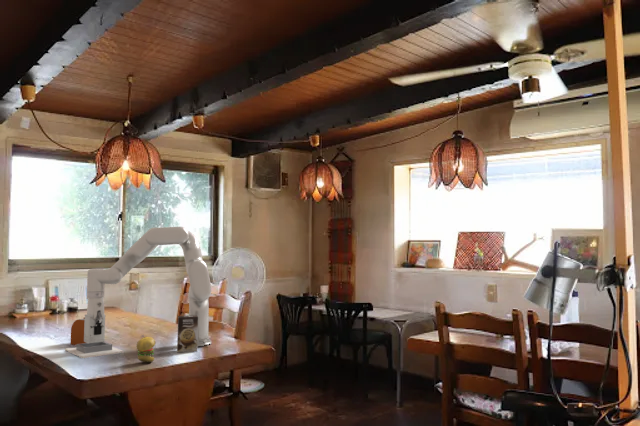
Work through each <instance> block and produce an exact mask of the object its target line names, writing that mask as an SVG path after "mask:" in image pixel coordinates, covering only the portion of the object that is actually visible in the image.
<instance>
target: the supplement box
mask: <svg viewBox="0 0 640 426" xmlns="http://www.w3.org/2000/svg"><path fill="white" fill-rule="evenodd" d="M84 317H85V322H84V342H86V343H88V344H89V343H97V342H105V335H106V334H105V332H106V314H104V319H102V333H101V334H100V335H94V326H95V320H93V316H92V315H89V314H87V313H86V314H84ZM96 319H99V317H98V315H97V317H96Z"/></svg>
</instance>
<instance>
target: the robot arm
mask: <svg viewBox="0 0 640 426" xmlns="http://www.w3.org/2000/svg"><path fill="white" fill-rule="evenodd" d="M171 245H179V246H180V247H181V250H182V253H183V256H184V258H183V259H184V262H185V271H186V274H187V275H188V280H189V287H188V303H189V304H188V305H189V306H188V310H189V311H188V316H193V315H197V316H198V342H197V347H205V346H204V345H207V346H210V345H211V344H212V340H211V338H210V337H209V315H210V314H209V313H210V311H209V310H210V309H209V307H210V305H209V299H210V297H211V294H212V284H211V279H210V273H209V268H208V266H207V263H206V262H205V261H204V260H203V253H202V250H201V245H200V243H199V240H198V238H197V237H196V236H195V235H194V234H193V232H191V231H189V230H188V229H187V228H185V227H183V226H167V227H165V226H164V227H152V228H150V229H148V230H147V231H146V232H145V233H144V234H142V236H140V237H139V238H138V240H137V241H136V242H134V243H133V244H132V245H131V246H130V247H129V248H128V249H127V250H126V252H125V253H124V254H123V255H122V256H121V257H120V258H119V259H118V260H117V261H116V262H115V263H114V264H113V265H112V266H111V267H110V268H107V269H105V268H90V269H88V270H87V275H86V276H87V277H86V279H87V280H86V282H87V284H86V299H87V306H86V307H87V309H86V314H89V315H92V316H93V320H95V326H94V335H100V334H101V333H102V319H104V315H105V301H104V299H105V287H106V286H105V284H107V285H117V284H118V283H120V282H121V281H122V279H123V278H124V277H125V276H127V274H128V273H129V272H130V271H131V270H132V269H133V268H134V267H136V266H137V265H139V264H140V263H141V262H142V261H144V260H145V259H146V258H147V257H148V256H149V255H150V254H151V253H152V252H153V251H154V250H155V249H157V247H158V246H171ZM97 315H98V317H99V319H96V317H97ZM209 344H210V345H209Z"/></svg>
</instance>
